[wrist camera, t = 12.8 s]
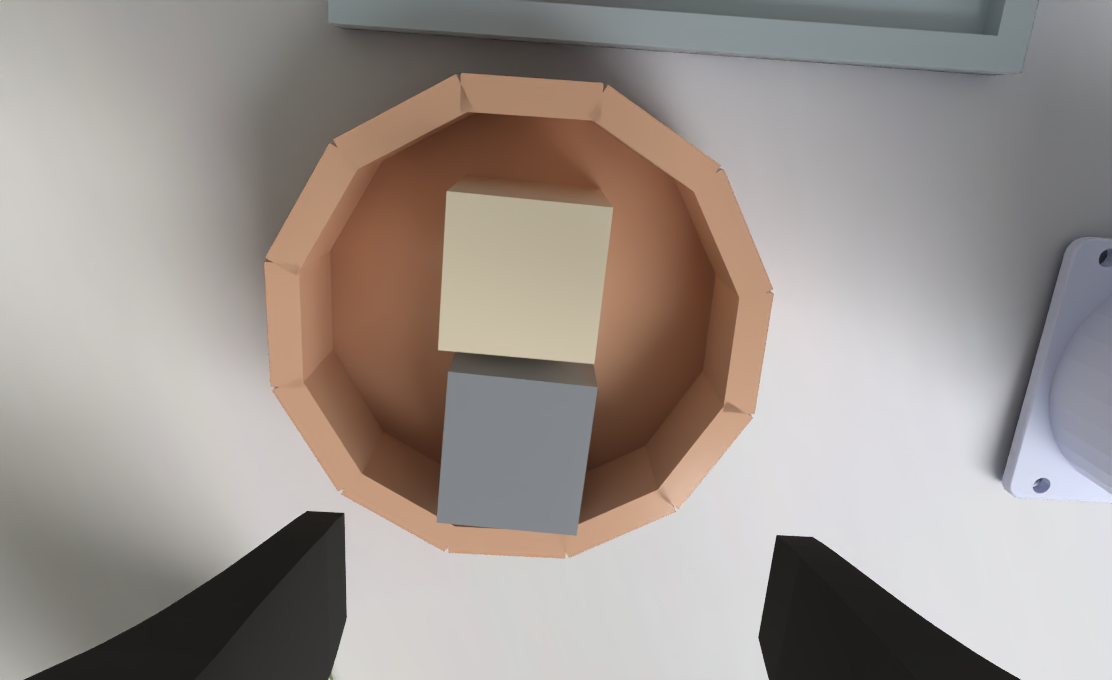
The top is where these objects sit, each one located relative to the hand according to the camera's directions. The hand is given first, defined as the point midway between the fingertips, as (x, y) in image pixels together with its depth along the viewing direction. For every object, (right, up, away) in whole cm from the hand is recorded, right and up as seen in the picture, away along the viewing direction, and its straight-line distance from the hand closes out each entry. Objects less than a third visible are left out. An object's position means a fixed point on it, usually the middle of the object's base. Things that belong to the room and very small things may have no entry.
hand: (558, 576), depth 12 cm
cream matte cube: (-1, +6, +7) cm, 10 cm away
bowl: (-1, +5, +9) cm, 10 cm away
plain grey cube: (-1, +4, +7) cm, 8 cm away
